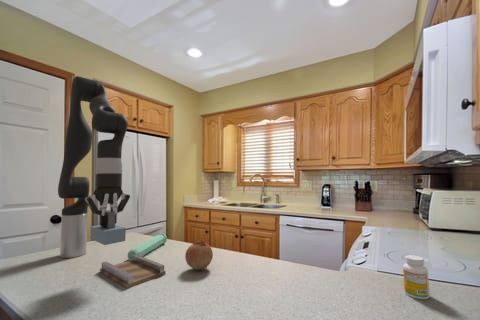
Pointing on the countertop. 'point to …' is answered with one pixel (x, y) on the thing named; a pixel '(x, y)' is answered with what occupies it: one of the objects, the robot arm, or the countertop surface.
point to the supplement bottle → (416, 278)
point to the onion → (199, 255)
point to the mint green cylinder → (148, 245)
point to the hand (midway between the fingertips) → (107, 226)
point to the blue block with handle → (108, 231)
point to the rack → (133, 271)
